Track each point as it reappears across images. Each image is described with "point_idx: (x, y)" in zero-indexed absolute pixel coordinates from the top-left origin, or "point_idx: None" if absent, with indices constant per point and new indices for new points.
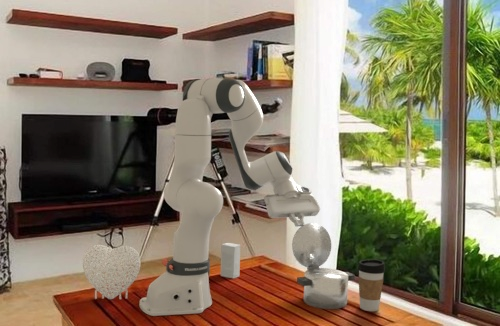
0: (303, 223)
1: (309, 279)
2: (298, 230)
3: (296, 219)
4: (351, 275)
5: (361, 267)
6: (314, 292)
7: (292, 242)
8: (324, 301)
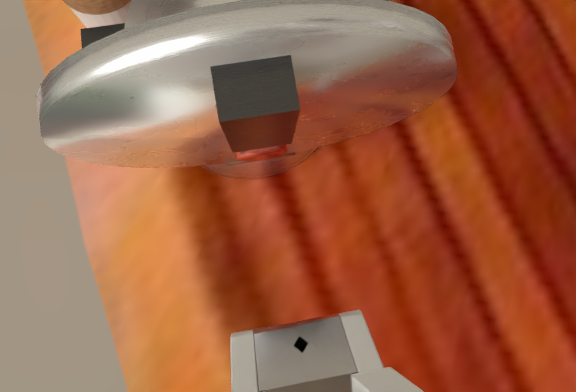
0: (246, 331)
1: None
2: (432, 21)
3: (372, 378)
4: (100, 28)
5: None
6: None
7: (451, 84)
8: None
